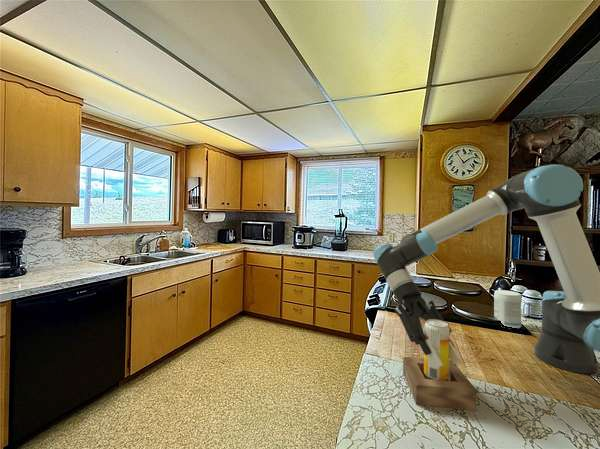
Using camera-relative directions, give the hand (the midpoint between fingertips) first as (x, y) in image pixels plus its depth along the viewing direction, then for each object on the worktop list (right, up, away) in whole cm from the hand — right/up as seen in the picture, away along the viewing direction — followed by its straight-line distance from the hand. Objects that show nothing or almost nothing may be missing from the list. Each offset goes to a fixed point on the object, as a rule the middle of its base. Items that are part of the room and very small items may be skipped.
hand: (448, 364), depth 70 cm
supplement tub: (+54, -9, +50) cm, 74 cm away
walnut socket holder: (-1, -9, +3) cm, 10 cm away
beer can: (-1, -6, +3) cm, 7 cm away
